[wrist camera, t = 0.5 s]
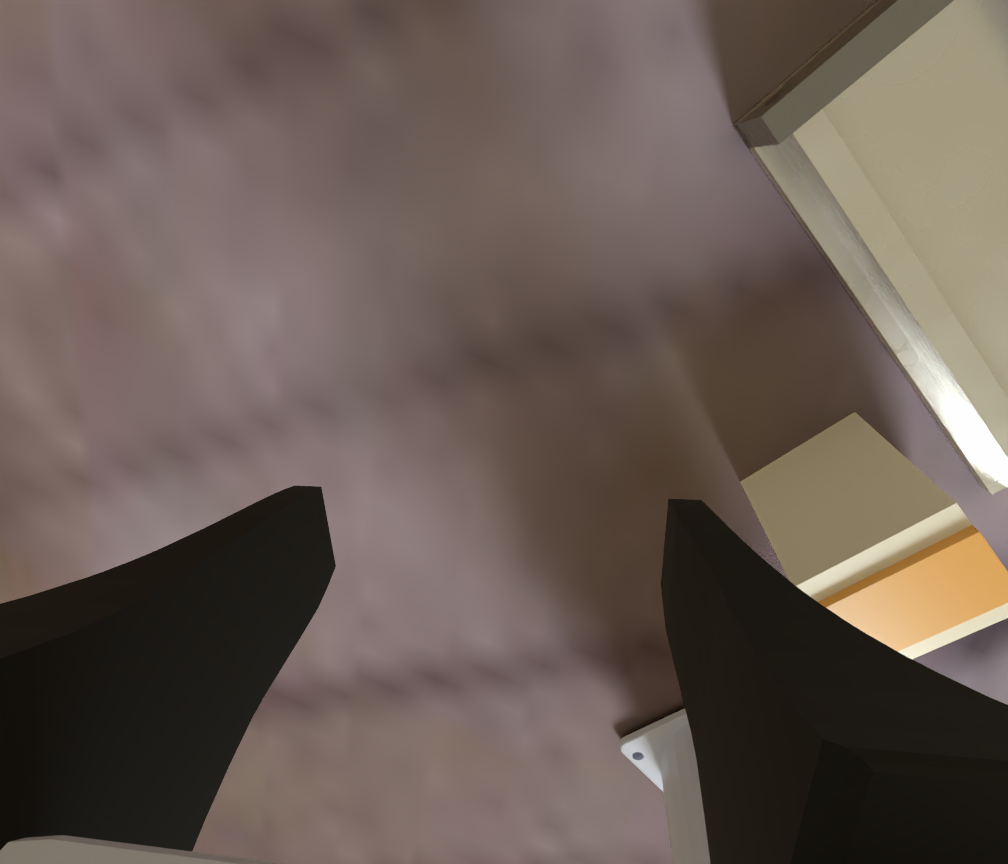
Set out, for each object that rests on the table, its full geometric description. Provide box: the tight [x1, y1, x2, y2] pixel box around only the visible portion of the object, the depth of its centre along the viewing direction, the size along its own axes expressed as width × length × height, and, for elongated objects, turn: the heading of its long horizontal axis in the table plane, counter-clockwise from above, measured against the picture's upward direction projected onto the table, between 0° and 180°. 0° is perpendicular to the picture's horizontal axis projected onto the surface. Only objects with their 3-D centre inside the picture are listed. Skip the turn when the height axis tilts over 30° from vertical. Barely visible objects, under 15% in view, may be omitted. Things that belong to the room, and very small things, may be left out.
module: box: [740, 412, 1008, 659], centre depth 18 cm, size 4×4×6 cm
